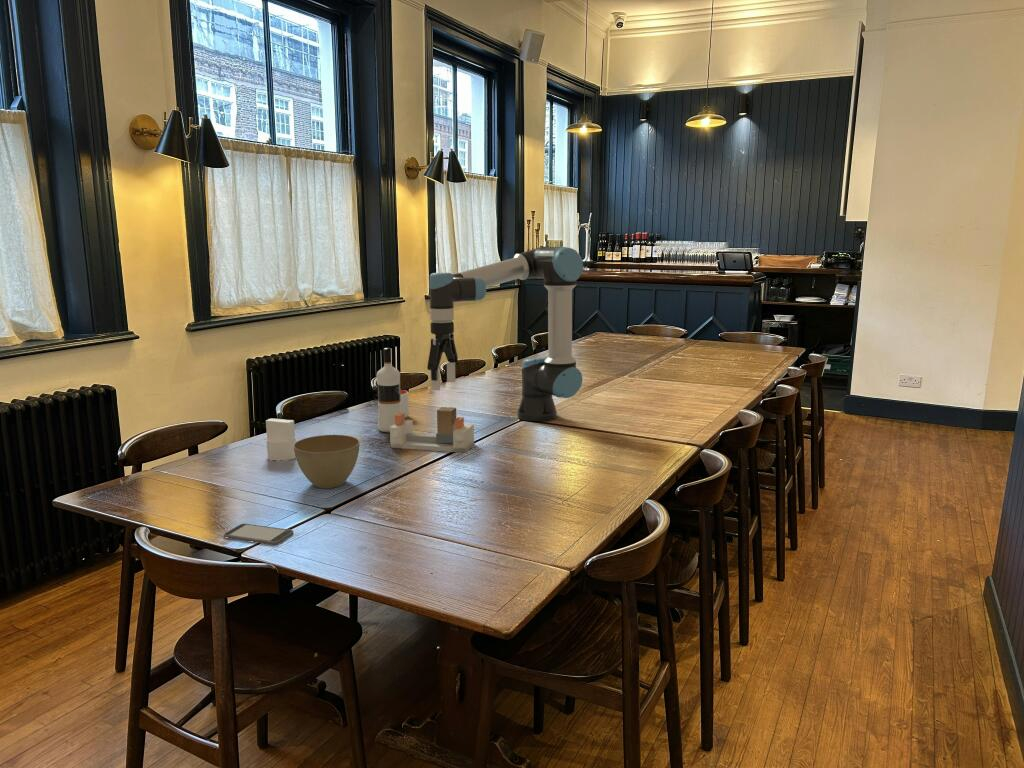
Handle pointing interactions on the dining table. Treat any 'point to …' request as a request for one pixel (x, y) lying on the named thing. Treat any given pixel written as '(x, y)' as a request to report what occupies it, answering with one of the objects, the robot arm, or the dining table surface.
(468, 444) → the linear slide base
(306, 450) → the tan bowl
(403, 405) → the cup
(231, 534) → the smartphone
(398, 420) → the gauge plunger
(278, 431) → the base with upright slab
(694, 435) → the dining table surface
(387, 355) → the vodka
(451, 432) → the carriage
